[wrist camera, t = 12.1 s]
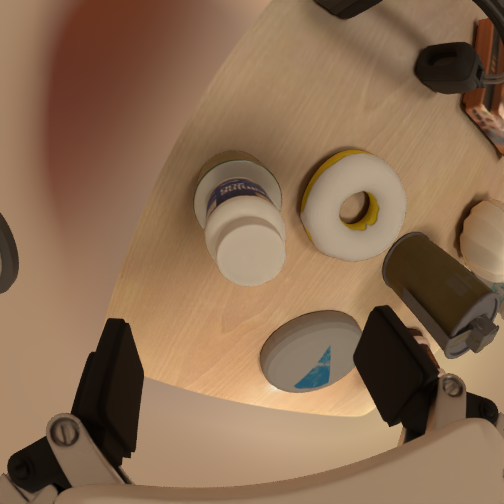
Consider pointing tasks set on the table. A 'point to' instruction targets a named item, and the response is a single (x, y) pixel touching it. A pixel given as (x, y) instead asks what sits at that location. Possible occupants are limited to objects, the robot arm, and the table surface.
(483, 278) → the bottle
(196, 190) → the tin can
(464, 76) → the headphones
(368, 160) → the donut
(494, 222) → the vase
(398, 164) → the table surface
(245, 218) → the pill bottle
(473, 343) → the canister
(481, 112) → the book
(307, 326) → the frisbee
